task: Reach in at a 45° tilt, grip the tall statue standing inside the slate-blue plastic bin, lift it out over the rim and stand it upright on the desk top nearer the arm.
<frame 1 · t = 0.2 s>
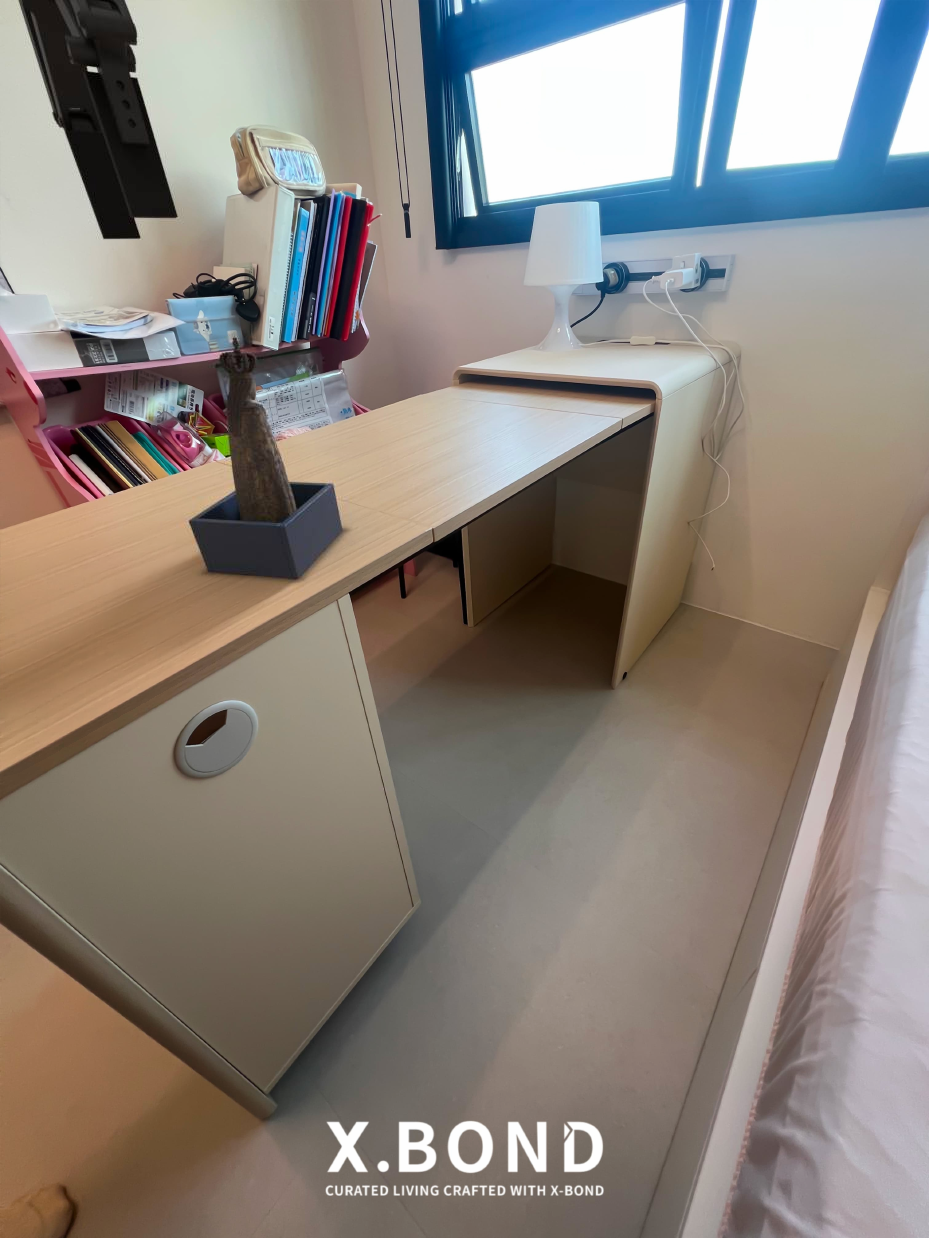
hand: (136, 230, 38), 34 cm above the table, tool pointing down, fingers open, 13 cm apart
statue: (279, 551, 68), resting in bin
bin: (279, 550, 68), on the table
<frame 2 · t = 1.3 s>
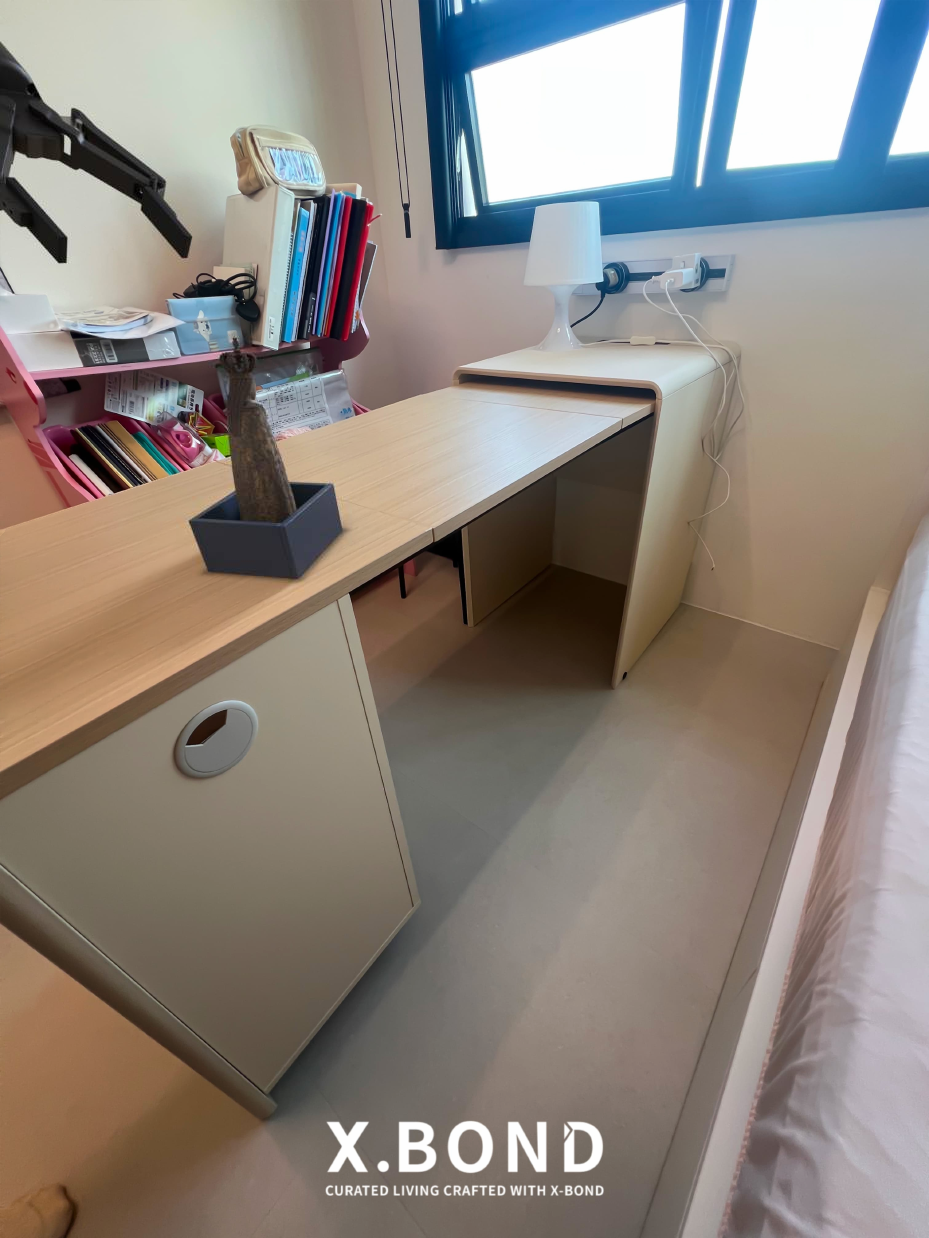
hand: (131, 249, 52), 33 cm above the table, tool tilted 45°, fingers open, 13 cm apart
nothing on the table moved.
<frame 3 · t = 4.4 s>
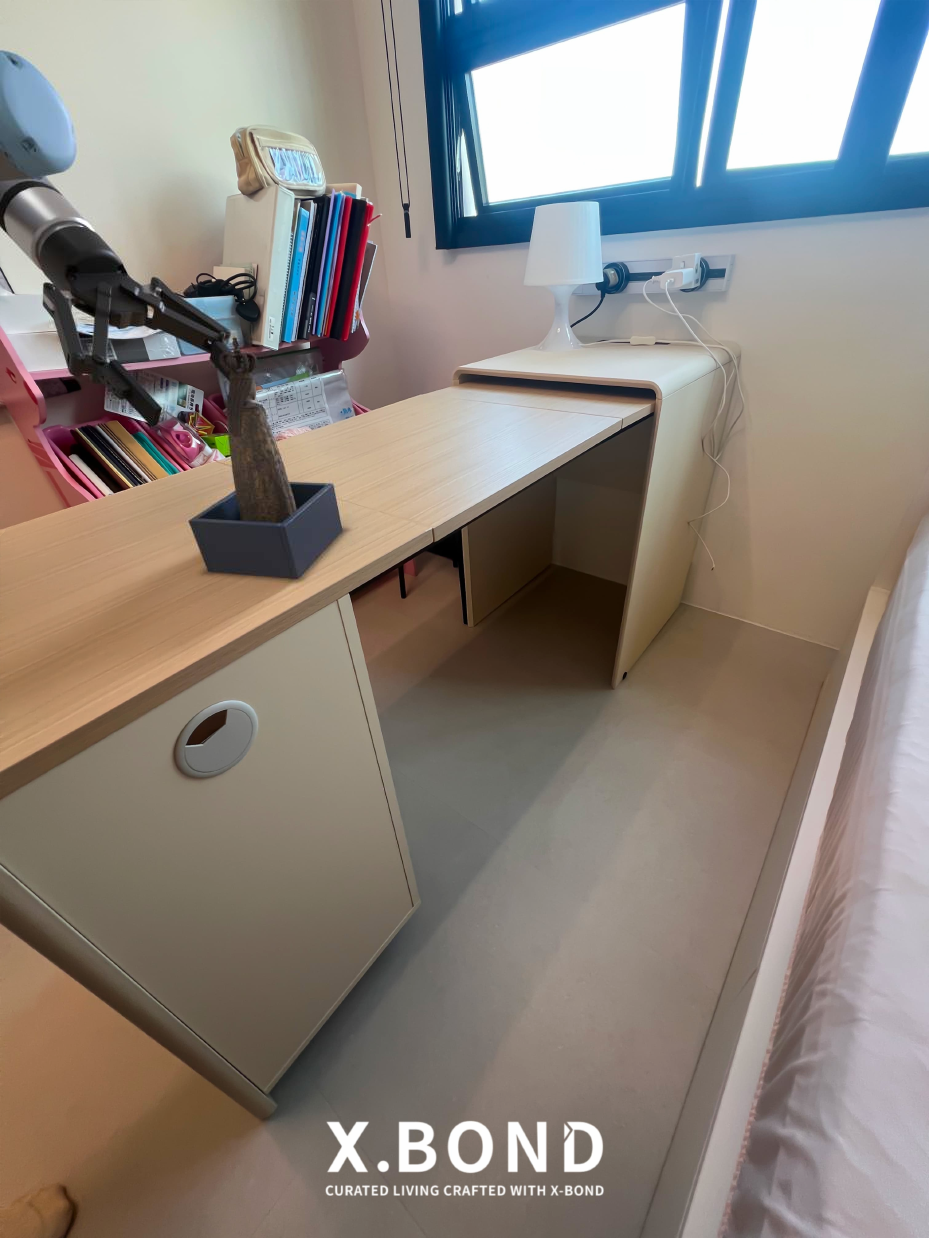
hand: (208, 403, 60), 18 cm above the table, tool tilted 45°, fingers open, 13 cm apart
nothing on the table moved.
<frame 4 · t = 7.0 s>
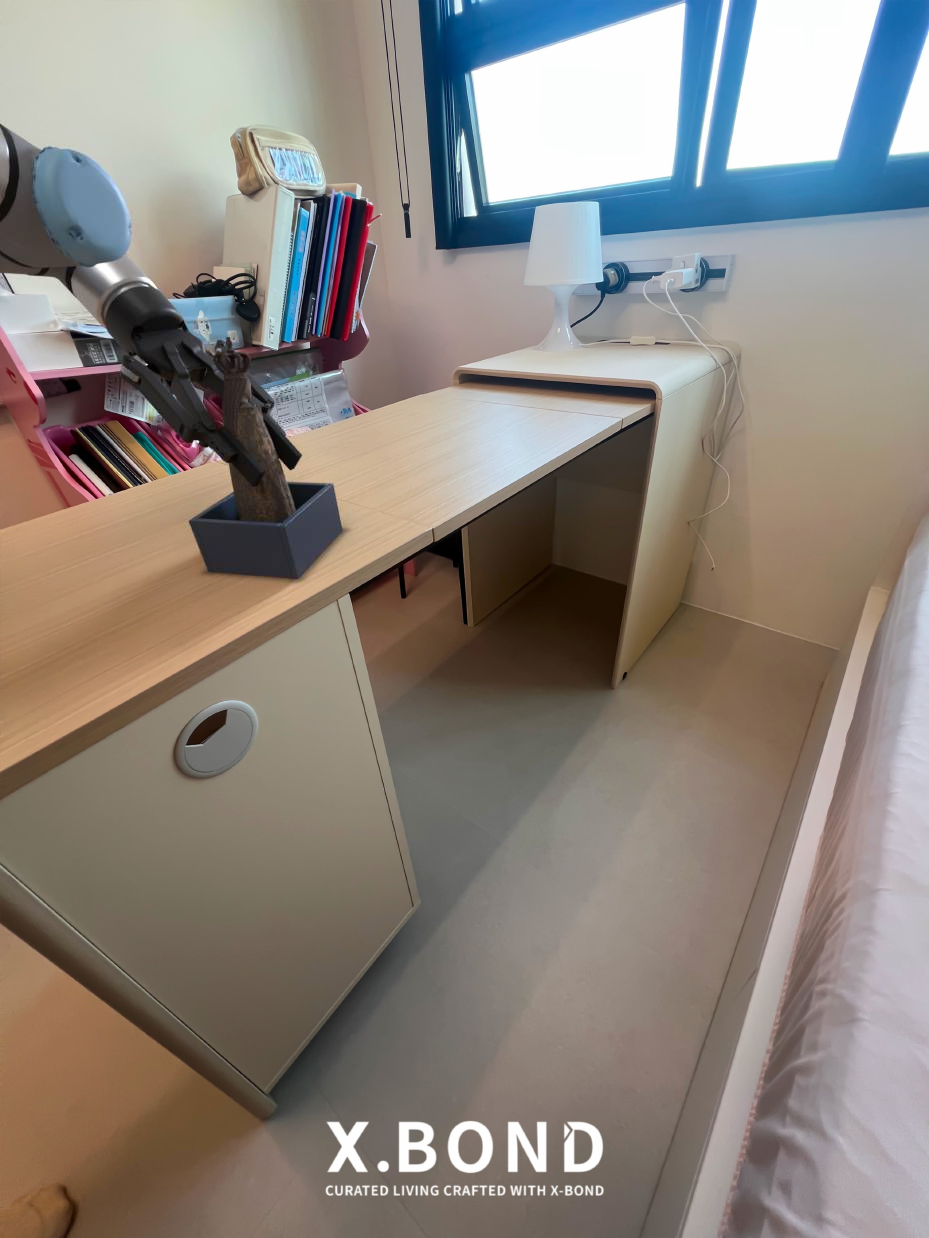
hand: (278, 470, 60), 11 cm above the table, tool tilted 45°, fingers closed on statue, 5 cm apart
statue: (279, 550, 68), resting in bin, touching gripper
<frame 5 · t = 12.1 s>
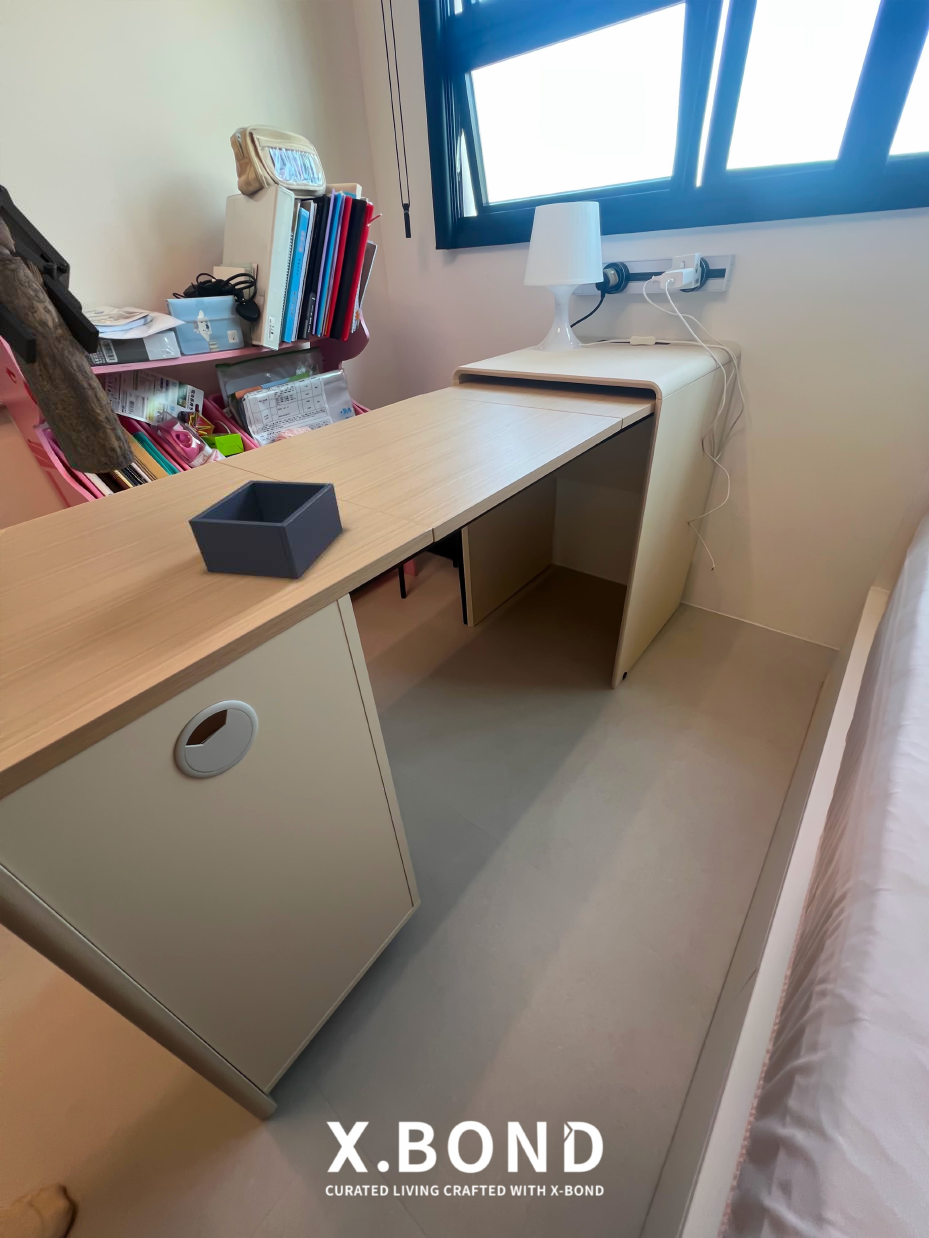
hand: (63, 346, 47), 26 cm above the table, tool tilted 45°, fingers closed on statue, 5 cm apart
statue: (108, 463, 56), point 14 cm above the table, touching gripper
when the fingers open (12 cm above the table, at t = 16.4 s): statue stays where it is, on the table.
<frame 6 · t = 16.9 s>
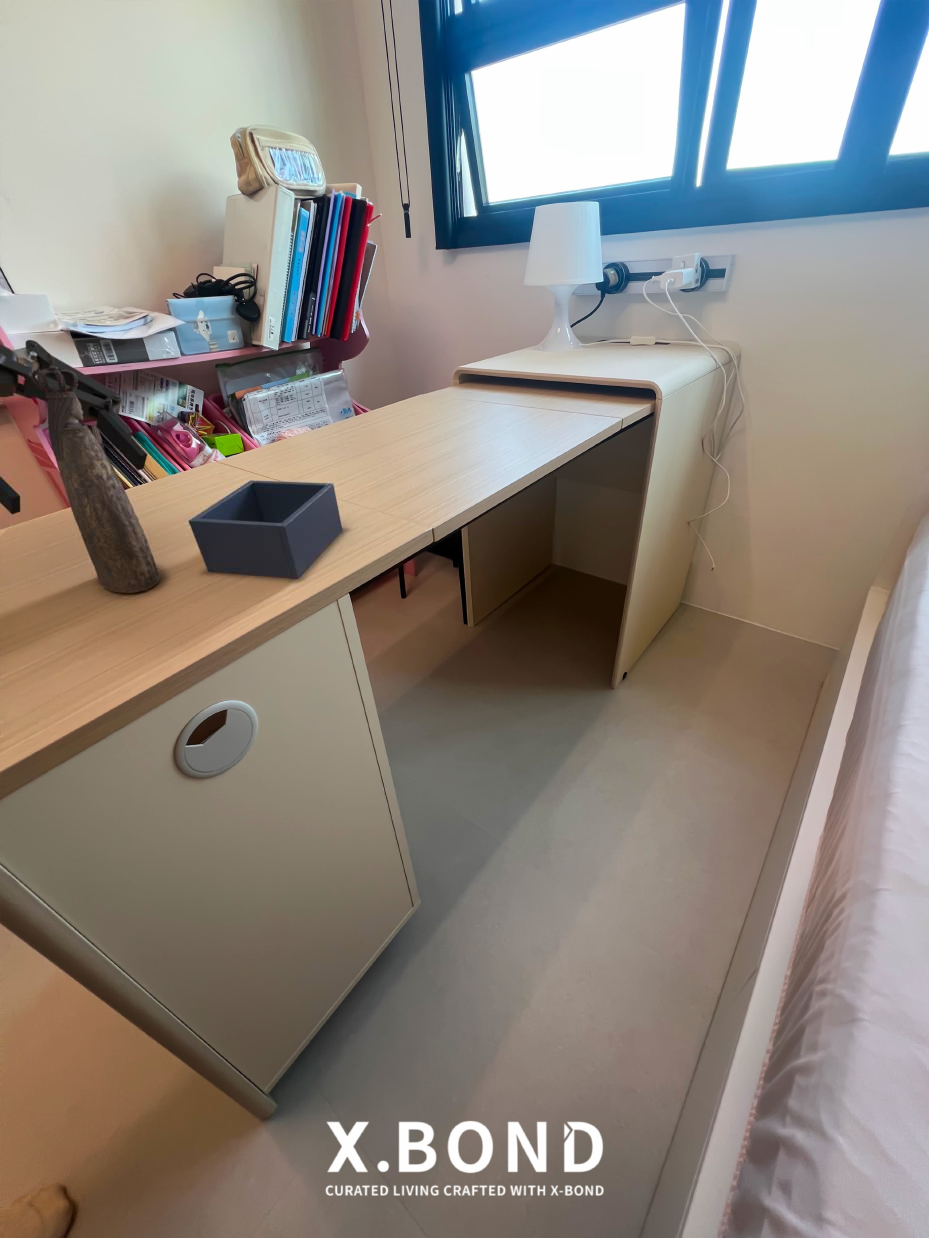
hand: (85, 482, 54), 13 cm above the table, tool tilted 45°, fingers open, 13 cm apart
statue: (135, 580, 63), on the table
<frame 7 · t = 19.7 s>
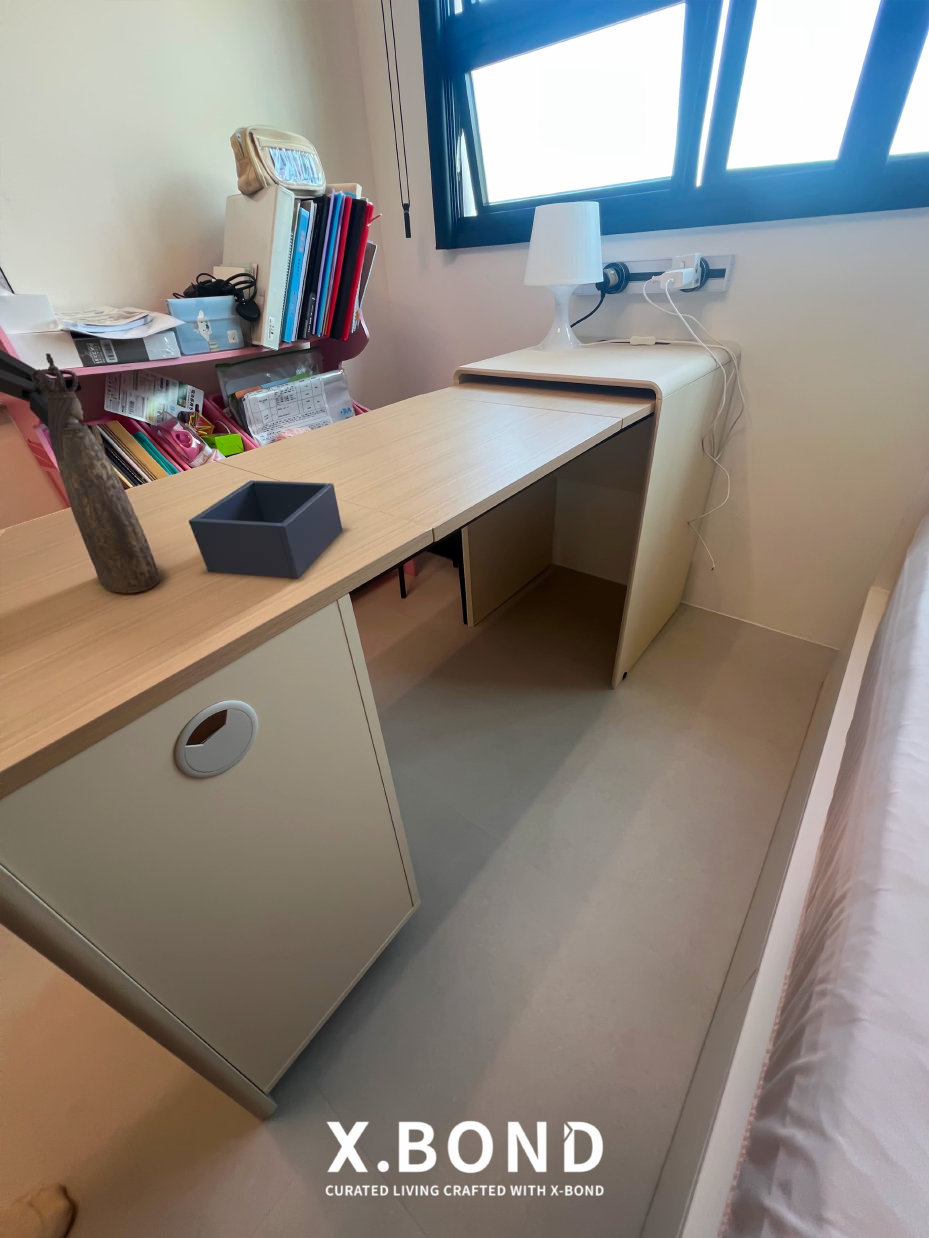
hand: (12, 460, 58), 14 cm above the table, tool tilted 45°, fingers open, 13 cm apart
nothing on the table moved.
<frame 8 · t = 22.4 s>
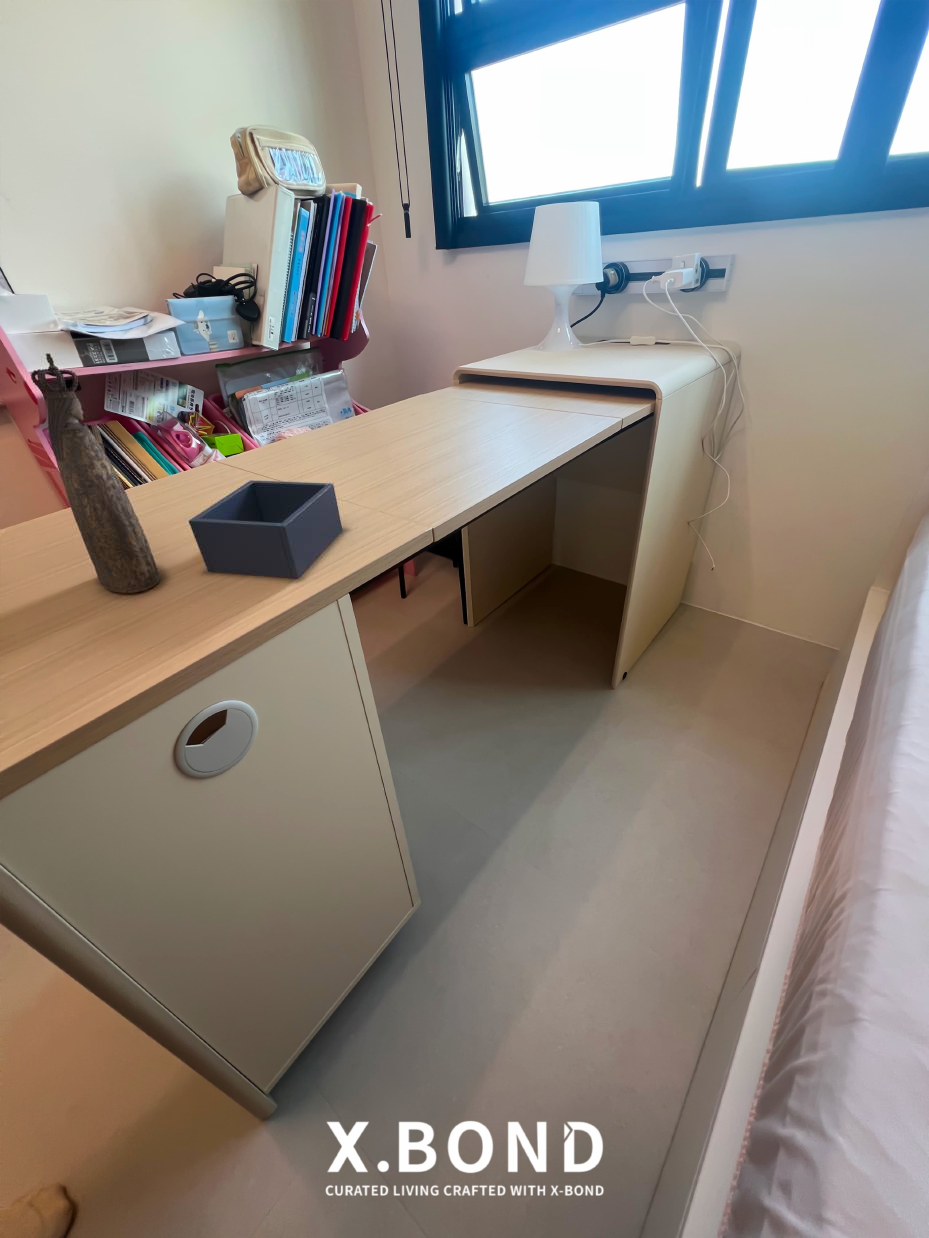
nothing on the table moved.
at the end: statue inside the target area (1.2 cm from its centre), on the table; statue tilted 0°; the gripper is holding nothing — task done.
